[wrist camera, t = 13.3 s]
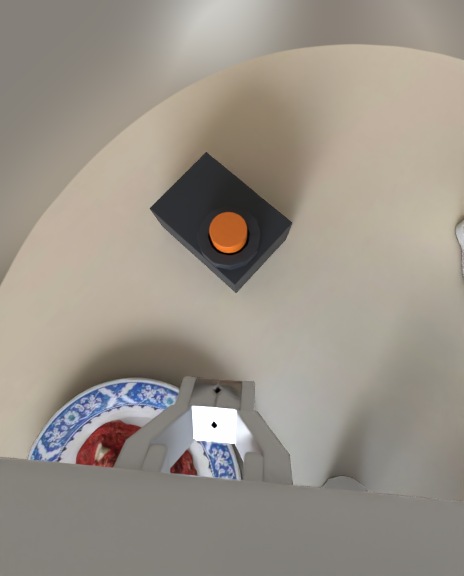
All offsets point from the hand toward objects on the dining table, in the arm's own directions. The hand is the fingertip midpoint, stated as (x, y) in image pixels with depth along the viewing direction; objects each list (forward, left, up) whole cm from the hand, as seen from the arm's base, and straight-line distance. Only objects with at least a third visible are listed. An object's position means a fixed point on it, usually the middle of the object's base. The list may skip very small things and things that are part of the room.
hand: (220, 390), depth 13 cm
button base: (-11, -13, -26) cm, 31 cm away
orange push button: (-10, -10, -19) cm, 23 cm away
